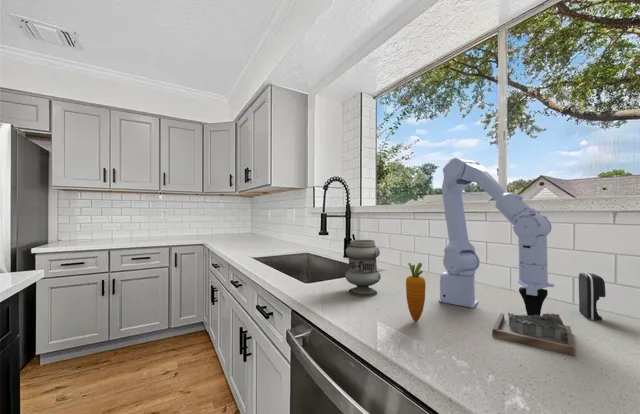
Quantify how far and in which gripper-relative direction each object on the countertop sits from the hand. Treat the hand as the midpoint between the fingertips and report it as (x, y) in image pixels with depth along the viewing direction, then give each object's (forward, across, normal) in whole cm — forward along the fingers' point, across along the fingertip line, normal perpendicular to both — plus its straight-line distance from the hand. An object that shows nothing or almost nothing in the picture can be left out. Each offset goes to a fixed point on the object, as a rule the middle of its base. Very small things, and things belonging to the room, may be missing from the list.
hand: (533, 318), depth 70 cm
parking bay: (+1, -8, 0) cm, 8 cm away
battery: (+2, +16, -12) cm, 20 cm away
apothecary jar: (+2, -2, +47) cm, 47 cm away
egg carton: (+2, -5, -1) cm, 5 cm away
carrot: (+2, -17, +23) cm, 29 cm away
